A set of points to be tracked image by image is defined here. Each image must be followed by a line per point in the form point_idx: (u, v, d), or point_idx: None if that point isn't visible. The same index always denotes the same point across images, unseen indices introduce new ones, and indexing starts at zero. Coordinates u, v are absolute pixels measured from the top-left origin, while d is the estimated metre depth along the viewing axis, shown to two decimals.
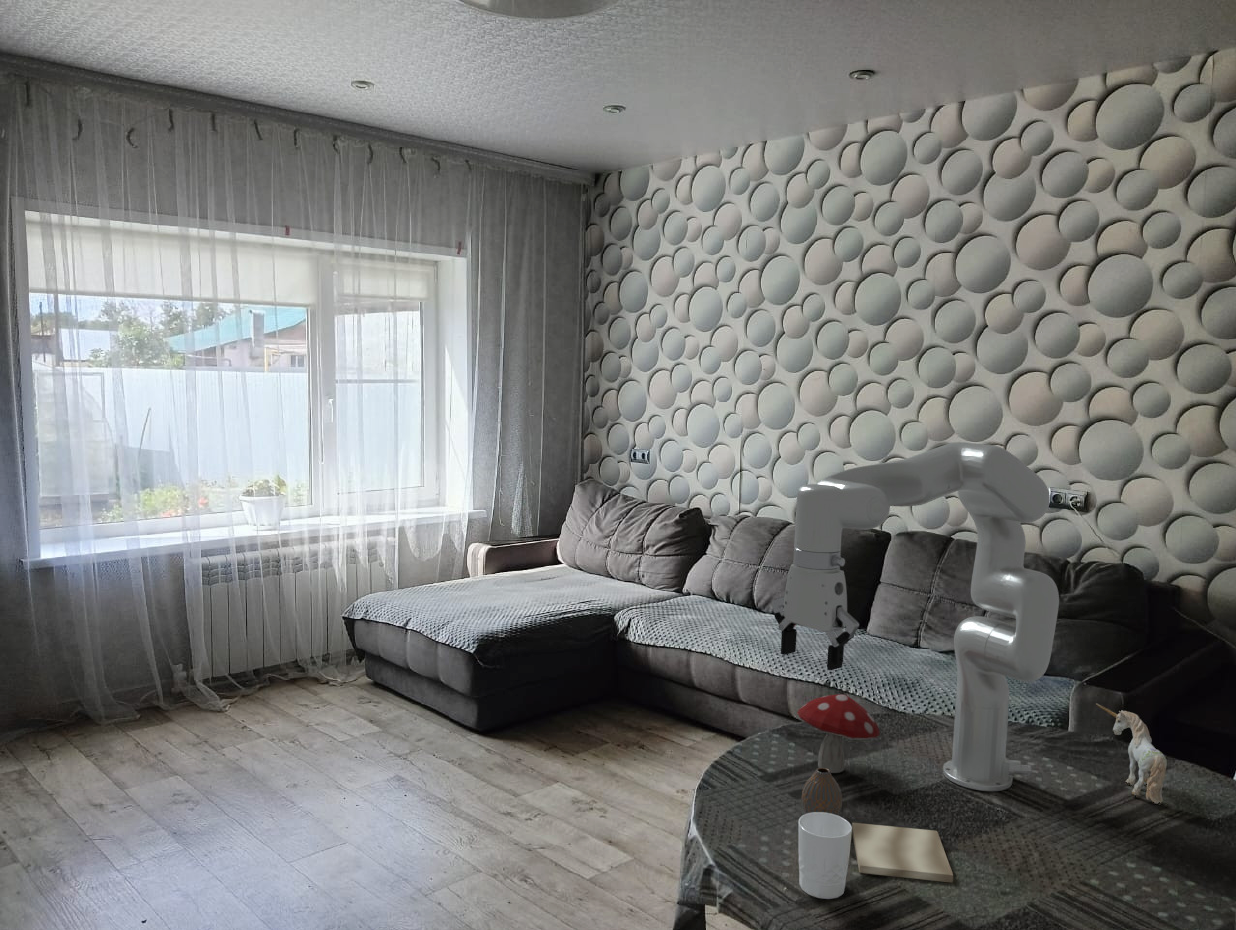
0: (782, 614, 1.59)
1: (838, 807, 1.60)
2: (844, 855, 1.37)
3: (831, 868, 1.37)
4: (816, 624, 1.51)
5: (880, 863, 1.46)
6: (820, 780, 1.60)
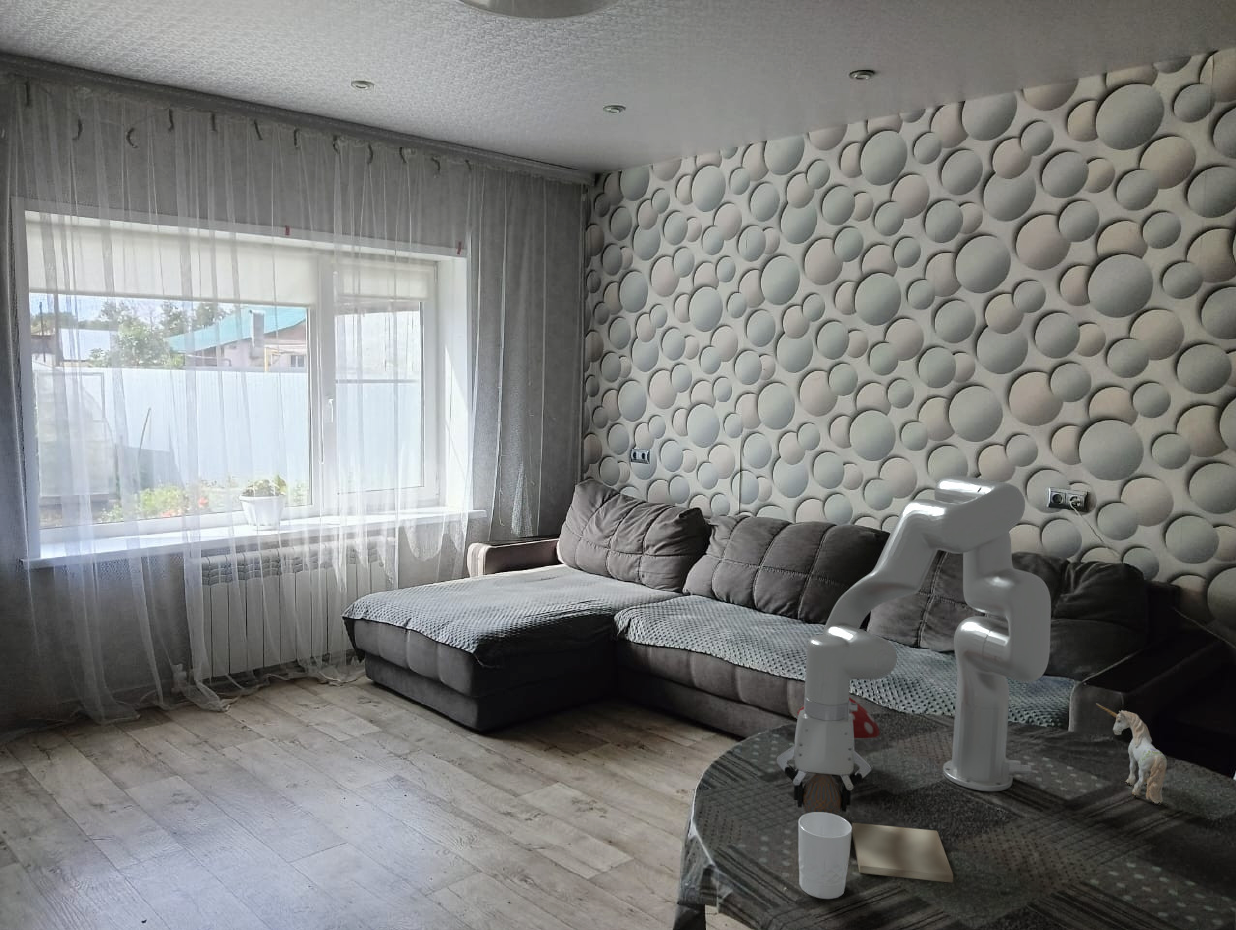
0: (790, 767, 1.62)
1: (838, 807, 1.60)
2: (844, 855, 1.37)
3: (831, 868, 1.37)
4: (838, 770, 1.59)
5: (880, 863, 1.46)
6: (820, 780, 1.60)
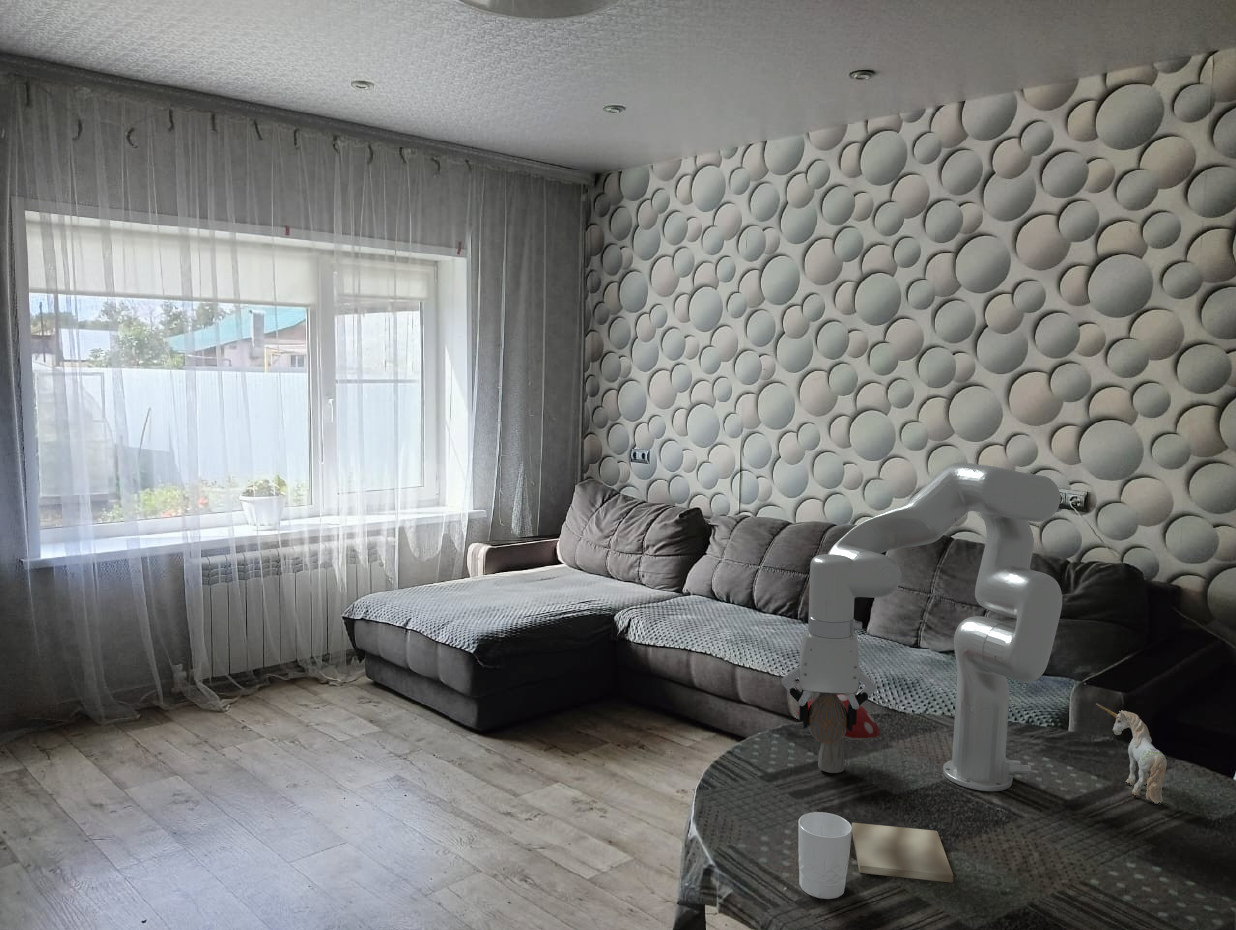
0: (795, 688, 1.61)
1: (844, 727, 1.58)
2: (844, 855, 1.37)
3: (831, 868, 1.37)
4: (843, 688, 1.58)
5: (880, 863, 1.46)
6: (826, 700, 1.59)
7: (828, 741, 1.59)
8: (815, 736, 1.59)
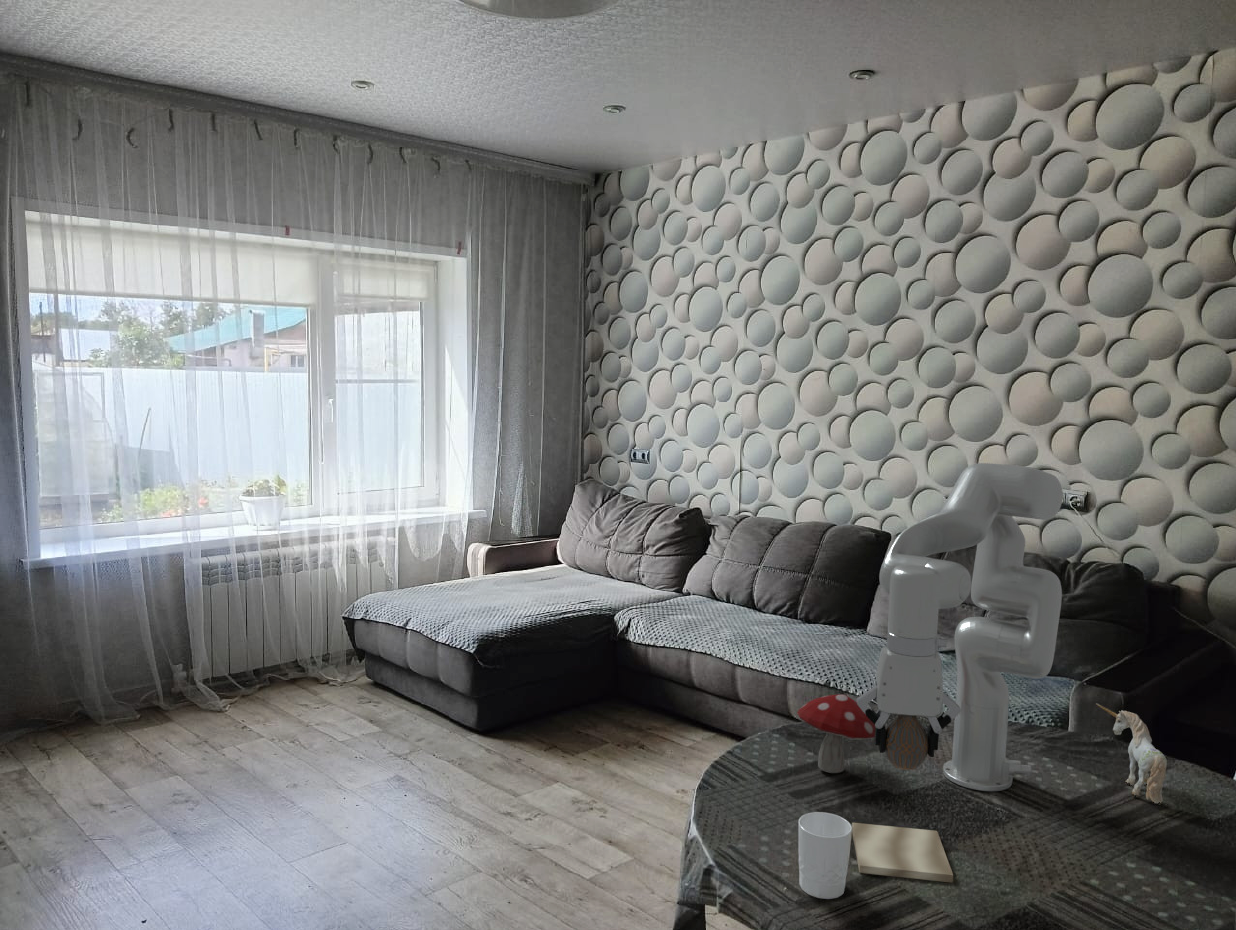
0: (871, 709, 1.49)
1: (925, 752, 1.47)
2: (844, 855, 1.37)
3: (831, 868, 1.37)
4: (925, 711, 1.46)
5: (880, 863, 1.46)
6: (905, 723, 1.47)
7: (907, 767, 1.47)
8: (893, 761, 1.48)
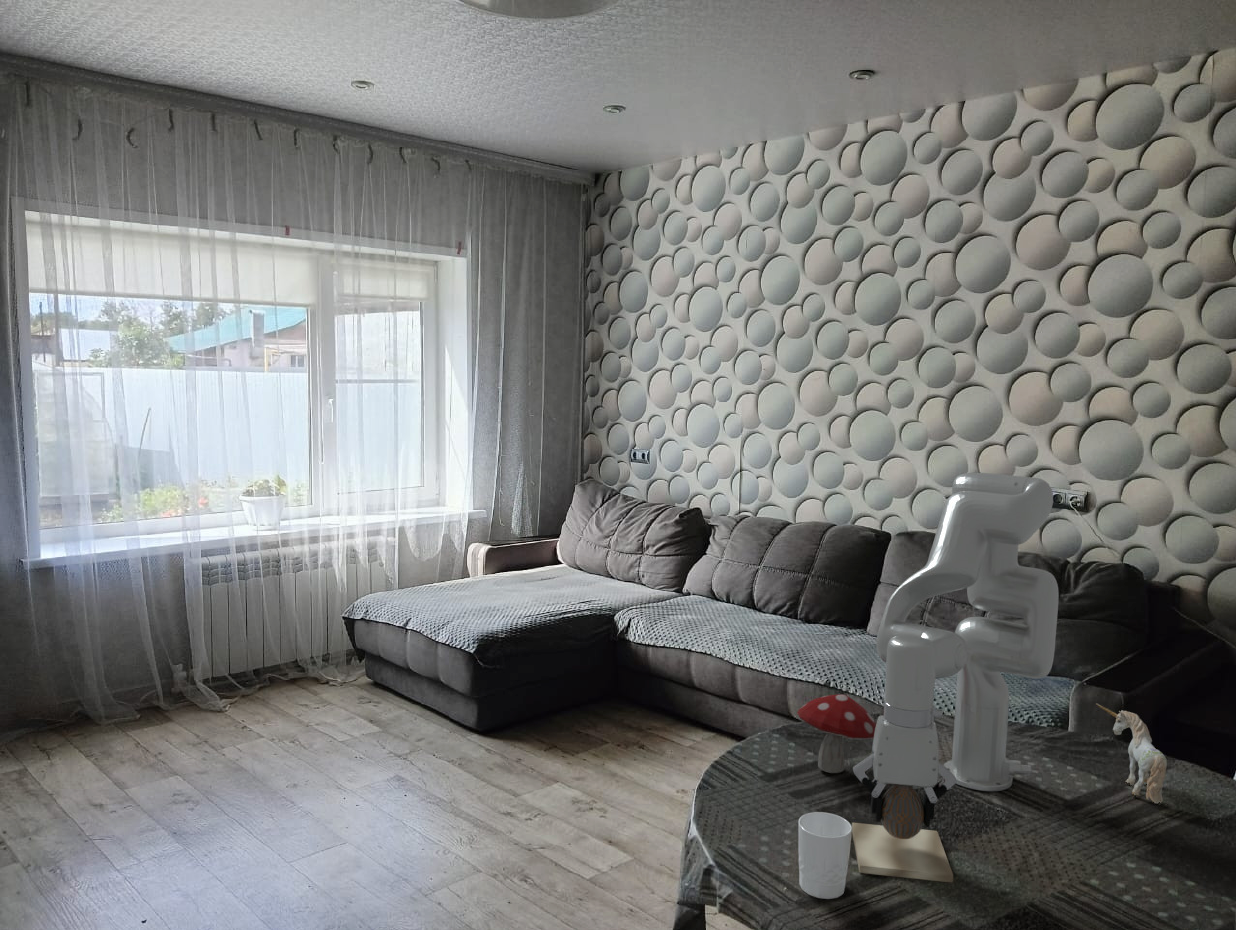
0: (868, 778, 1.50)
1: (921, 822, 1.48)
2: (844, 855, 1.37)
3: (831, 868, 1.37)
4: (921, 781, 1.47)
5: (880, 863, 1.46)
6: (901, 793, 1.48)
7: (903, 837, 1.48)
8: (889, 831, 1.49)
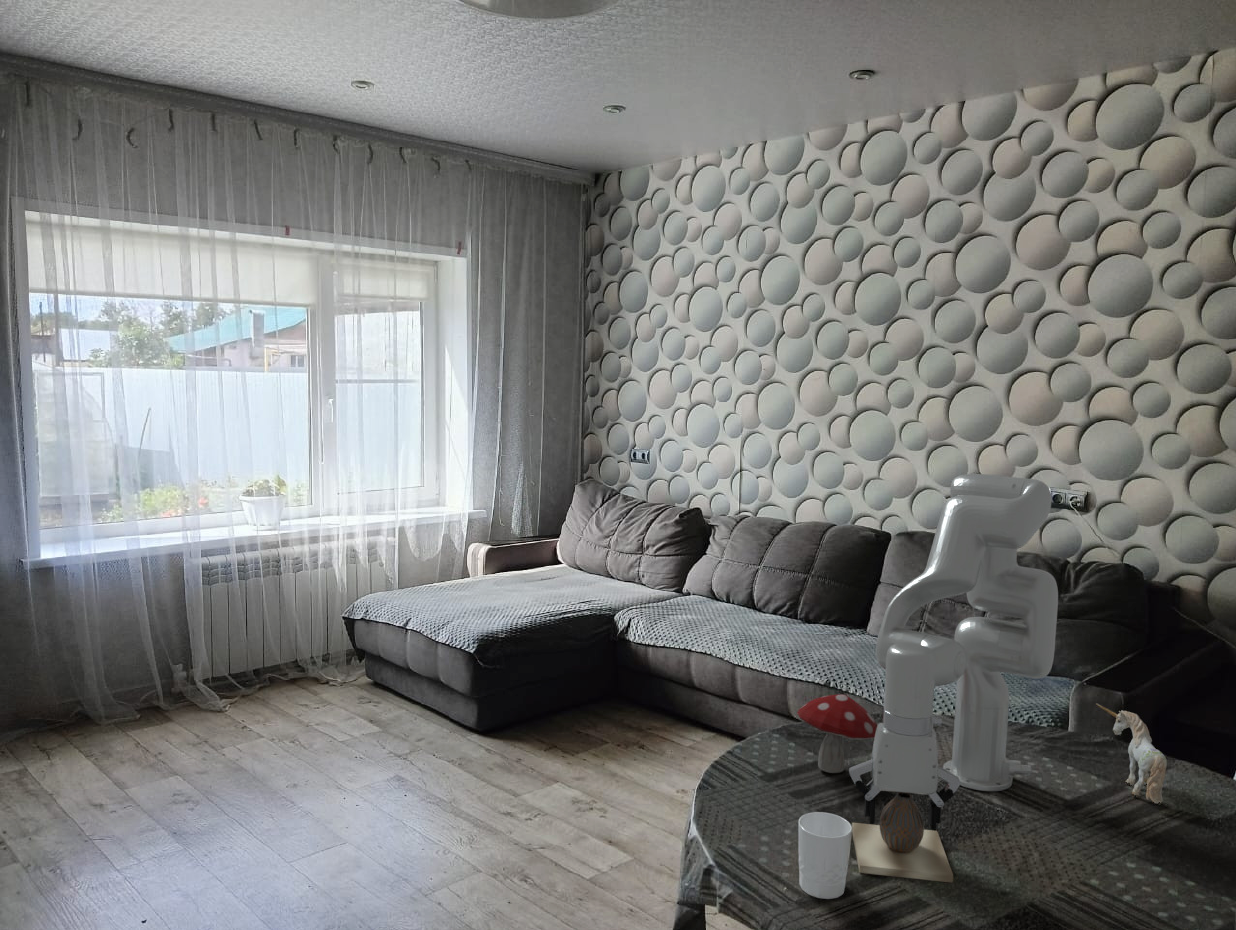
0: (862, 782, 1.51)
1: (921, 836, 1.48)
2: (844, 855, 1.37)
3: (831, 868, 1.37)
4: (921, 788, 1.47)
5: (880, 863, 1.46)
6: (902, 806, 1.49)
7: (903, 850, 1.48)
8: (889, 844, 1.49)
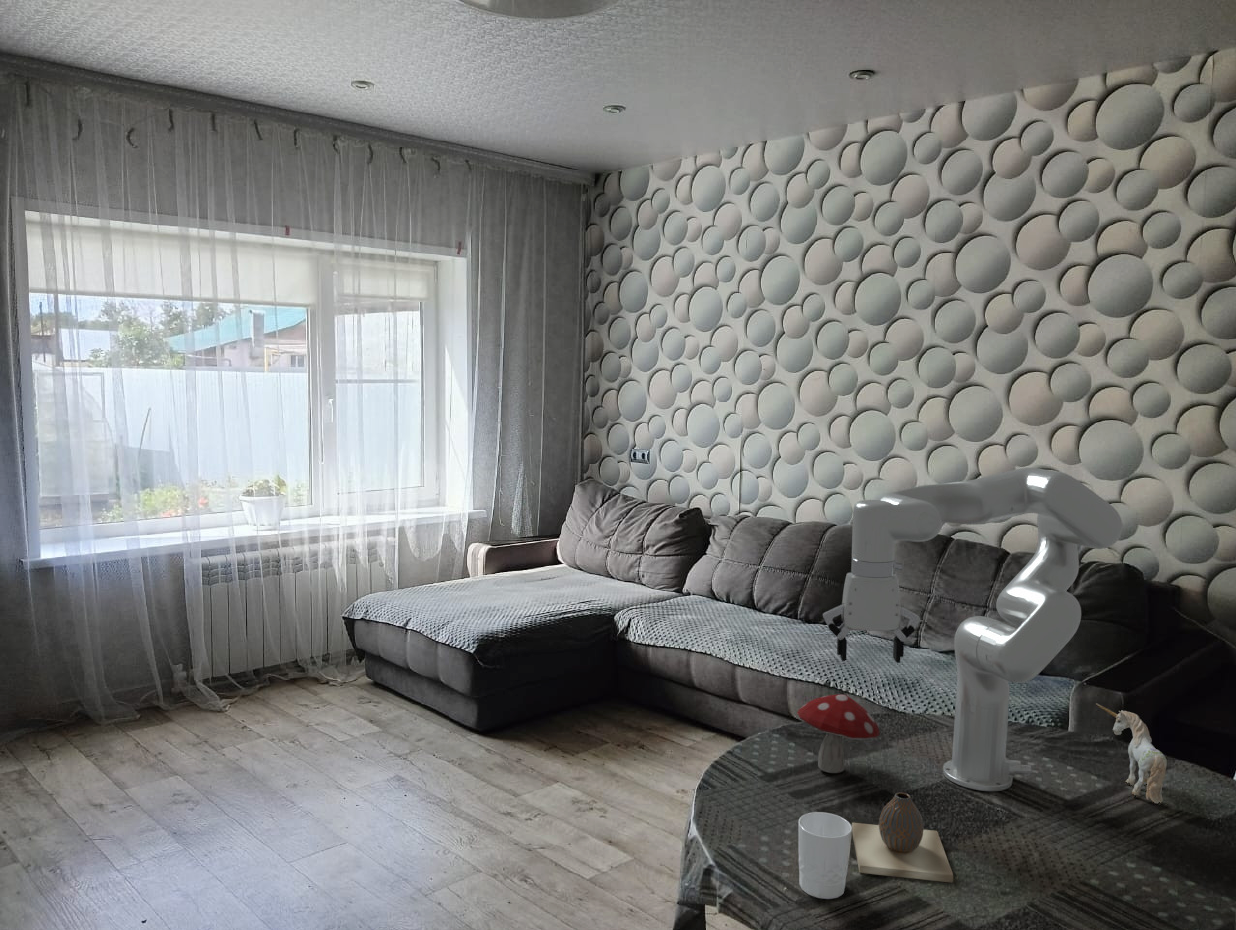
0: (834, 624, 1.70)
1: (920, 836, 1.48)
2: (844, 855, 1.37)
3: (831, 868, 1.37)
4: (886, 625, 1.67)
5: (880, 863, 1.46)
6: (901, 807, 1.49)
7: (903, 851, 1.48)
8: (888, 845, 1.49)
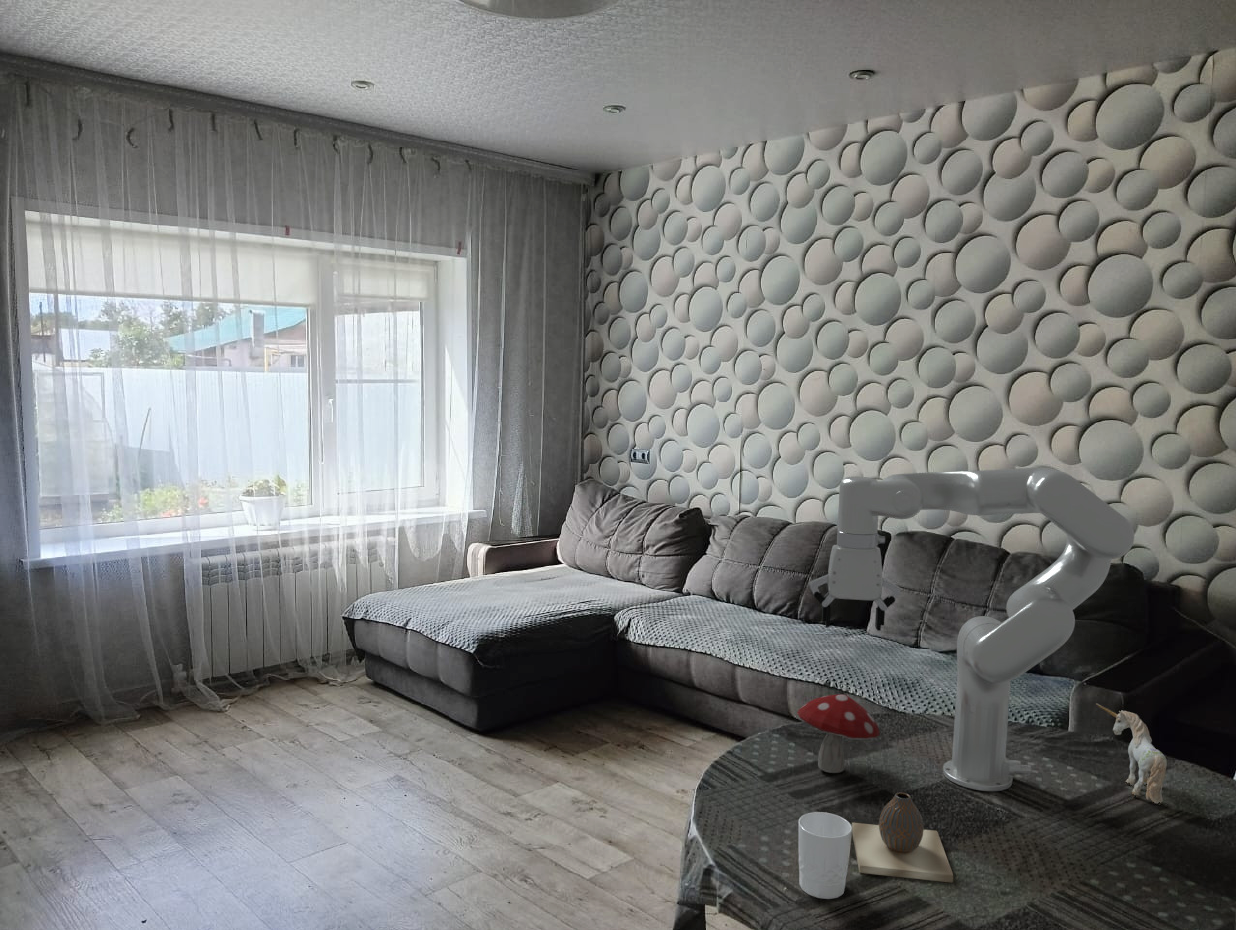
0: (819, 593, 1.82)
1: (920, 836, 1.48)
2: (844, 855, 1.37)
3: (831, 868, 1.37)
4: (867, 595, 1.78)
5: (880, 863, 1.46)
6: (901, 807, 1.48)
7: (903, 851, 1.48)
8: (888, 845, 1.49)
